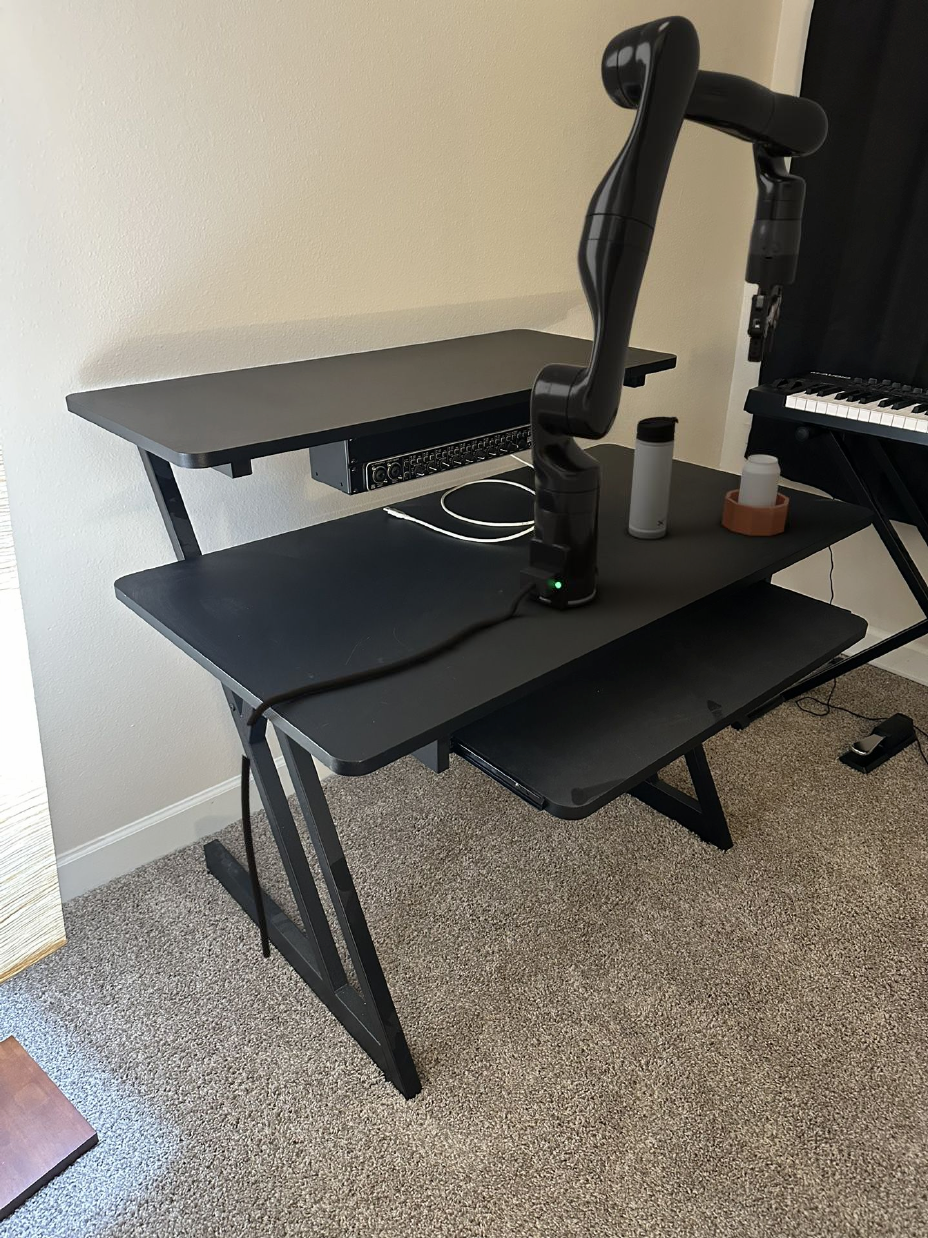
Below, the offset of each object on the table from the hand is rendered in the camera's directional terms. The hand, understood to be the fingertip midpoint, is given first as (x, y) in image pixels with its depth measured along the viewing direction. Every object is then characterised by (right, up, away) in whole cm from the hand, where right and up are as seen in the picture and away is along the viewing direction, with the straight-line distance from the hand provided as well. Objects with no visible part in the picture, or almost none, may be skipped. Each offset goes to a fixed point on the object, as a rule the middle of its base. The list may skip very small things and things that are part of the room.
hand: (758, 357), depth 147 cm
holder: (+3, -26, +11) cm, 29 cm away
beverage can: (+3, -27, +11) cm, 29 cm away
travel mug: (-17, -28, +8) cm, 34 cm away
